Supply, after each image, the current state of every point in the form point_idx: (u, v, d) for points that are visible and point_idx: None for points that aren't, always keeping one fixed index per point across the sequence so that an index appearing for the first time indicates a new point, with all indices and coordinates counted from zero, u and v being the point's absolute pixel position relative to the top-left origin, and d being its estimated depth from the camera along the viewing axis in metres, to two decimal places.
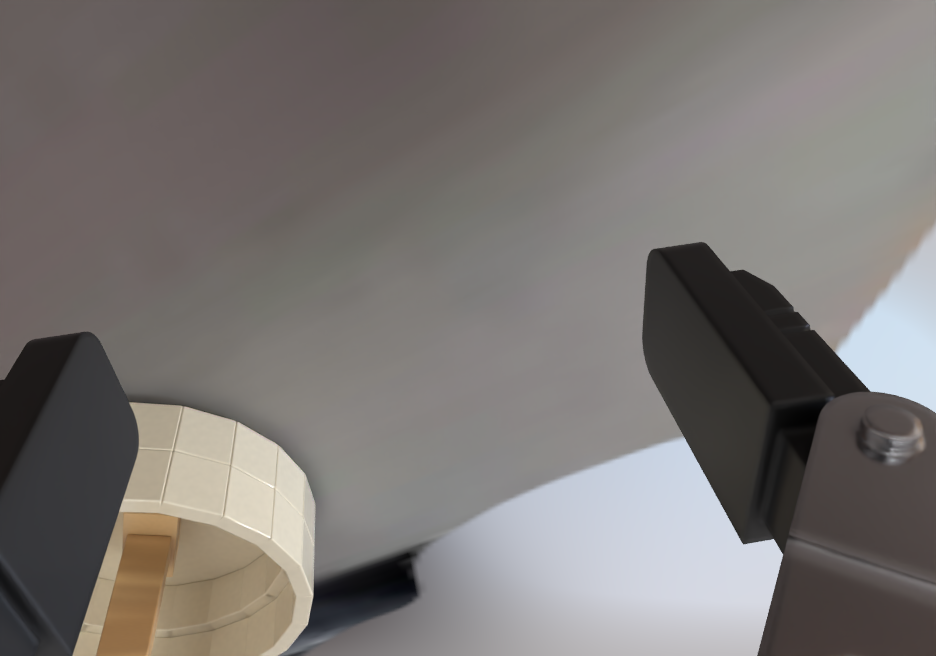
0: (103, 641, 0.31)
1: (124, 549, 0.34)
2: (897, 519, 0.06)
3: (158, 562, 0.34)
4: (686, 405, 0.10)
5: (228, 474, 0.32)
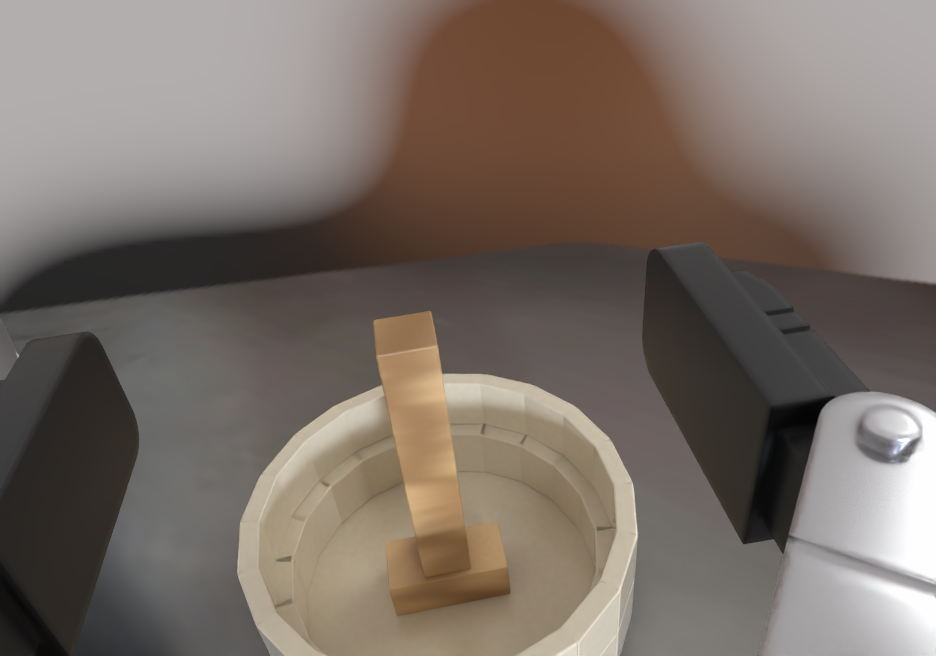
0: None
1: None
2: (898, 520, 0.06)
3: None
4: (686, 405, 0.10)
5: (633, 569, 0.28)
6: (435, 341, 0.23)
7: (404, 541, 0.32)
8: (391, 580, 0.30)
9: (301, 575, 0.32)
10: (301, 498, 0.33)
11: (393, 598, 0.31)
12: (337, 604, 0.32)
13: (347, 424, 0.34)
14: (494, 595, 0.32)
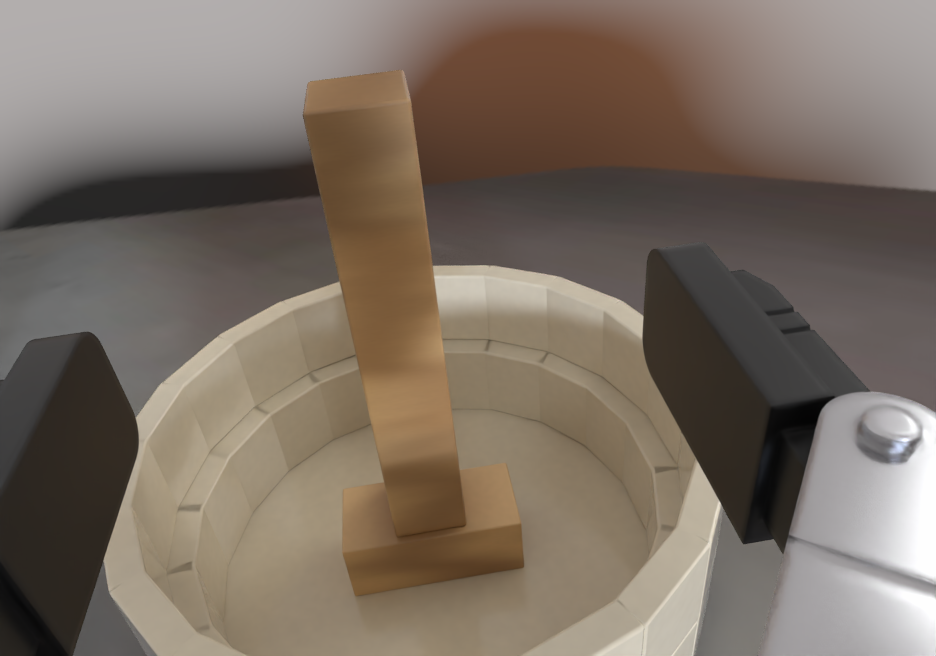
0: None
1: None
2: (898, 519, 0.06)
3: None
4: (686, 405, 0.10)
5: None
6: (407, 95, 0.14)
7: (370, 488, 0.22)
8: (346, 540, 0.20)
9: (218, 535, 0.22)
10: (226, 427, 0.23)
11: (349, 568, 0.20)
12: (271, 578, 0.22)
13: (296, 328, 0.24)
14: (500, 569, 0.21)
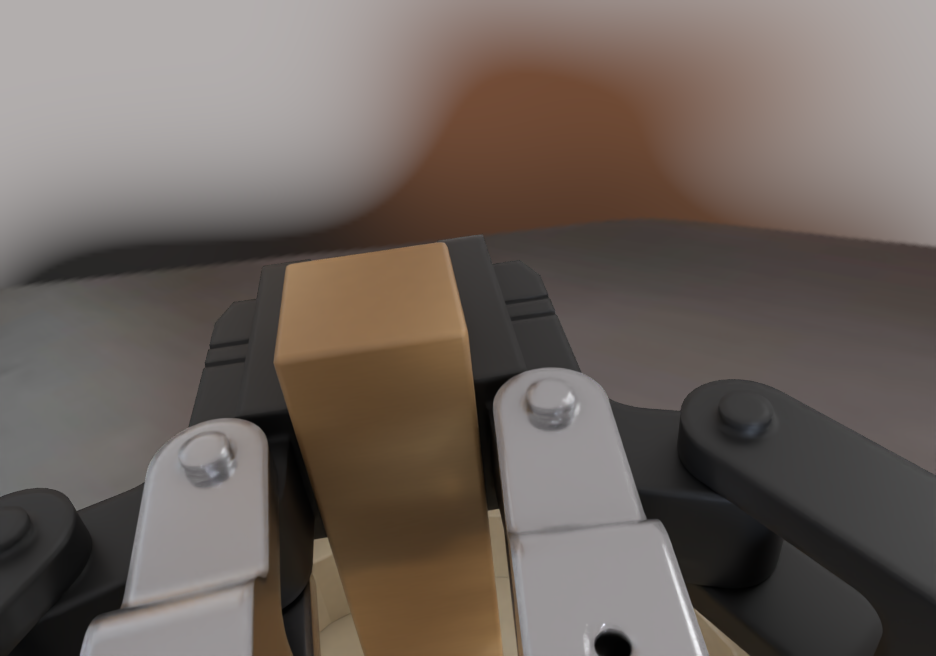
0: None
1: None
2: (583, 477, 0.07)
3: None
4: None
5: None
6: (460, 319, 0.08)
7: None
8: None
9: None
10: None
11: None
12: None
13: None
14: None
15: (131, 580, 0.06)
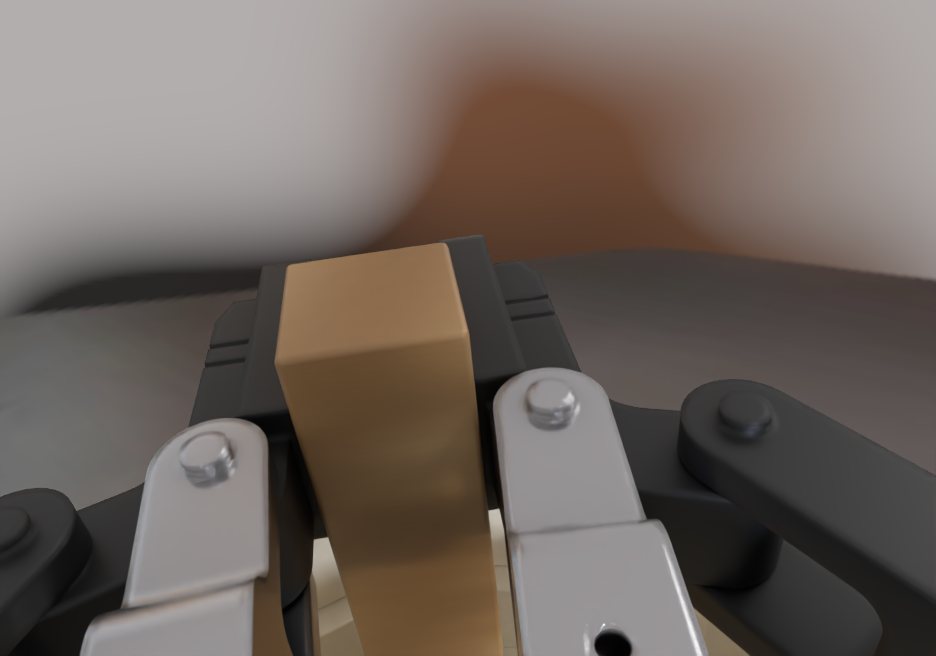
0: None
1: None
2: (584, 477, 0.07)
3: None
4: None
5: None
6: (461, 319, 0.08)
7: None
8: None
9: None
10: None
11: None
12: None
13: None
14: None
15: (132, 579, 0.06)
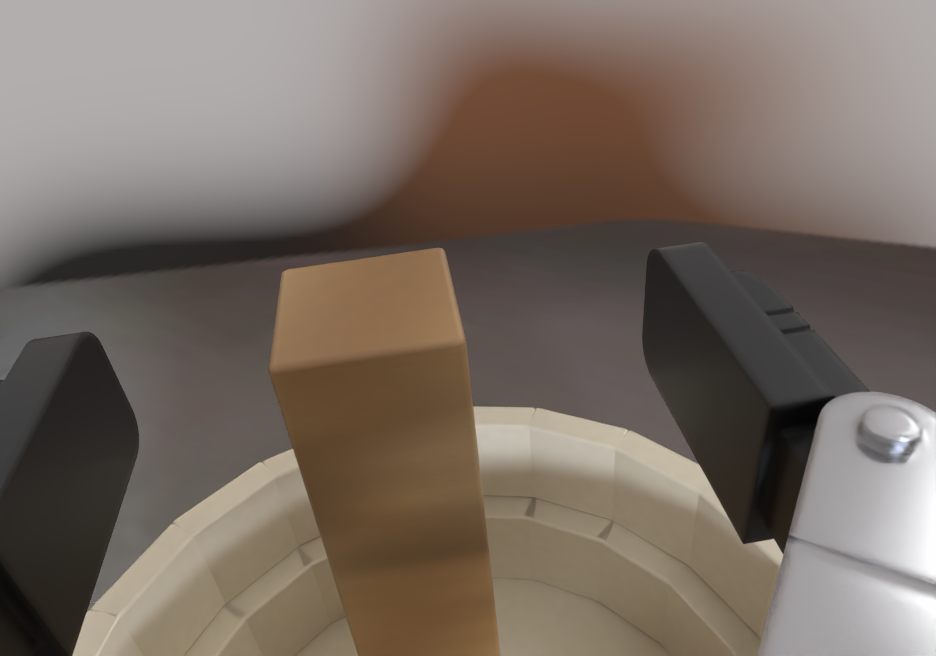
0: None
1: None
2: (898, 519, 0.06)
3: None
4: (686, 405, 0.10)
5: None
6: (458, 326, 0.08)
7: None
8: None
9: None
10: (184, 645, 0.17)
11: None
12: None
13: (281, 499, 0.18)
14: None
15: None
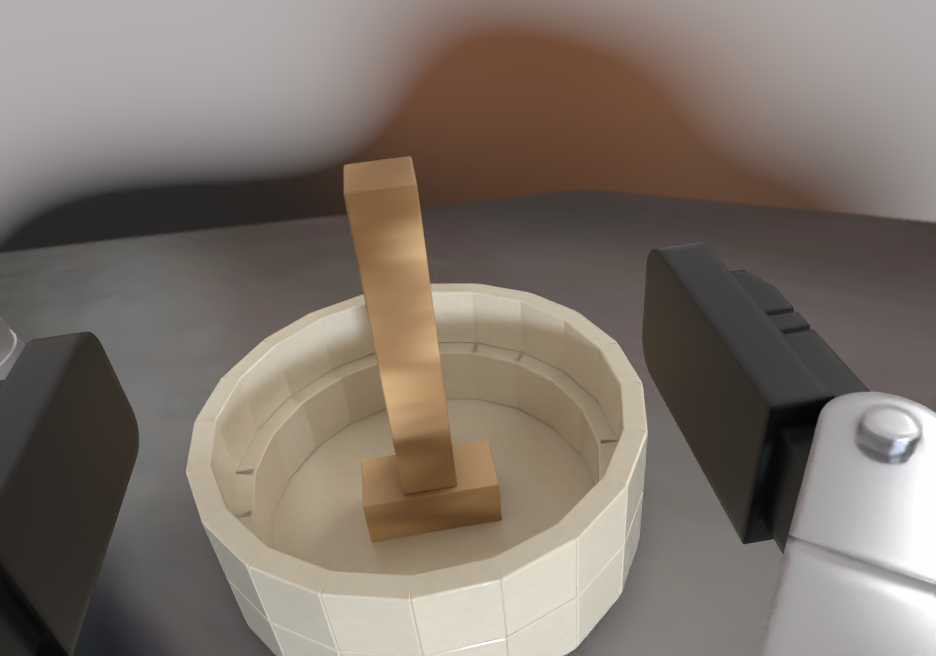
0: None
1: None
2: (896, 519, 0.06)
3: None
4: (686, 405, 0.10)
5: (642, 478, 0.25)
6: (414, 179, 0.20)
7: (383, 459, 0.28)
8: (365, 498, 0.27)
9: (266, 494, 0.28)
10: (269, 411, 0.30)
11: (367, 519, 0.27)
12: (306, 528, 0.28)
13: (323, 334, 0.31)
14: (483, 521, 0.28)
15: None
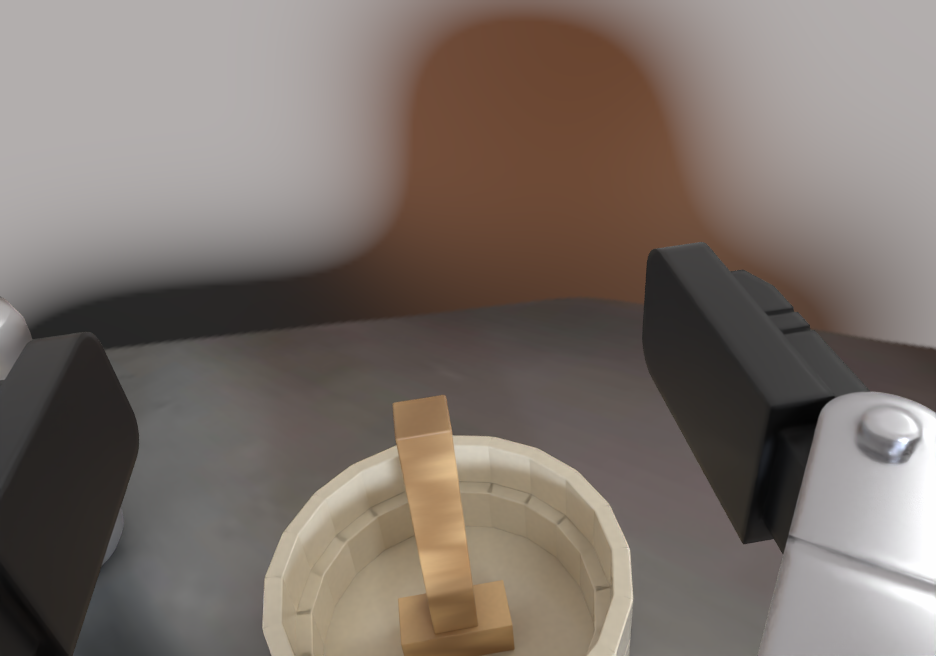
0: None
1: None
2: (897, 519, 0.06)
3: None
4: (686, 405, 0.10)
5: (629, 629, 0.31)
6: (449, 425, 0.26)
7: (415, 598, 0.34)
8: (403, 636, 0.33)
9: (319, 626, 0.34)
10: (319, 553, 0.35)
11: (405, 653, 0.33)
12: (352, 654, 0.34)
13: (363, 482, 0.37)
14: (499, 651, 0.34)
15: None
